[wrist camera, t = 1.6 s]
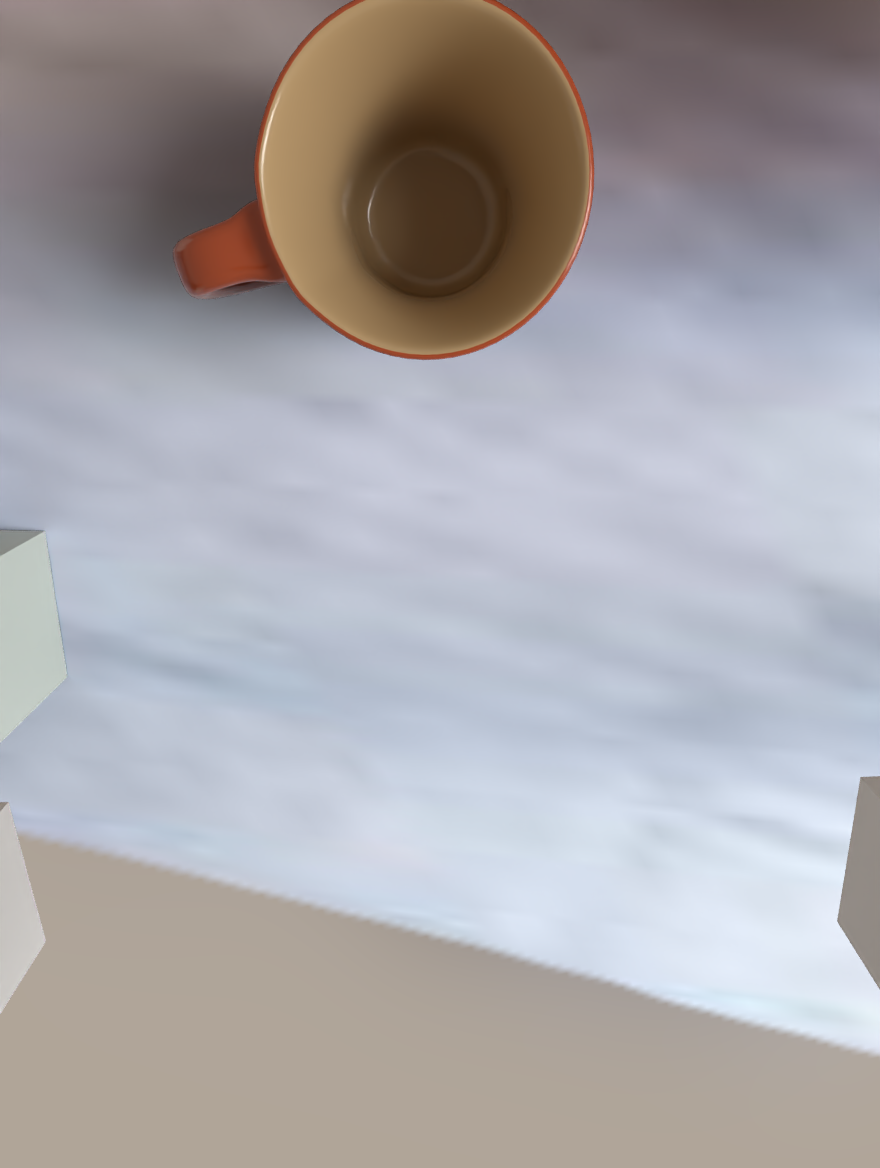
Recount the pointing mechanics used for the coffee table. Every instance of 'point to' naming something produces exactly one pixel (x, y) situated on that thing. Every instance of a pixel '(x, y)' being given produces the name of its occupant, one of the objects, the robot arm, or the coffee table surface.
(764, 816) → the coffee table surface
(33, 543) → the end cabinet
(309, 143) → the mug
